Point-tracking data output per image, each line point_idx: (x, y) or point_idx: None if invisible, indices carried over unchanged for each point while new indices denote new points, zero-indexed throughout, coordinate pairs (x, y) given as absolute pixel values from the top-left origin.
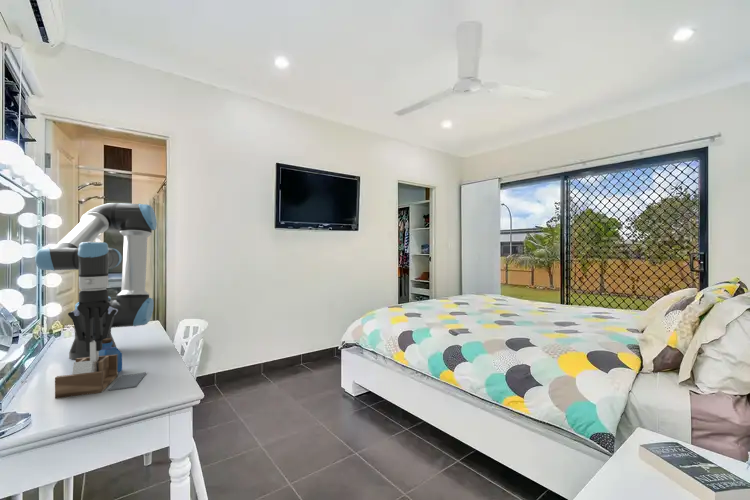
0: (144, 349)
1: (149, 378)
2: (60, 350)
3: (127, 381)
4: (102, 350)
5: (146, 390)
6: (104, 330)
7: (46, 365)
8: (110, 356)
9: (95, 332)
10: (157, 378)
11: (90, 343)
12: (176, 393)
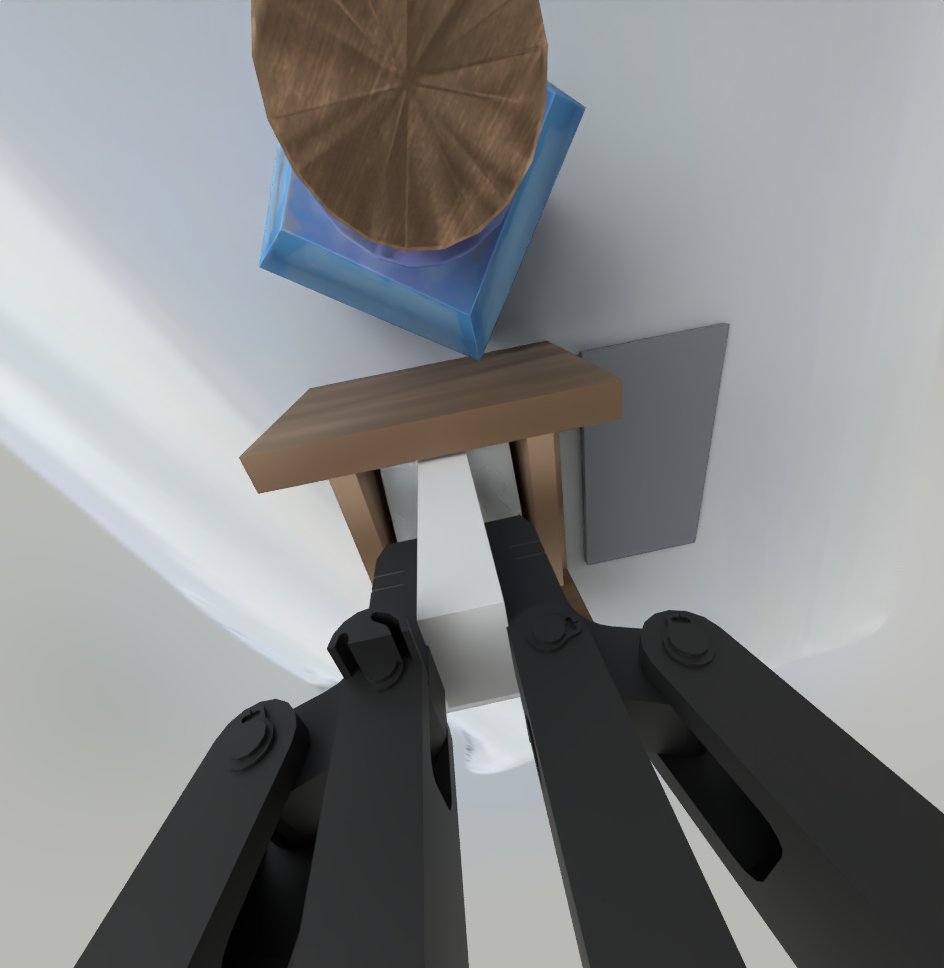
0: None
1: (744, 426)
2: None
3: (646, 479)
4: (417, 294)
5: (736, 573)
6: (774, 922)
7: None
8: (565, 425)
9: (571, 914)
10: (783, 435)
11: (456, 691)
12: (833, 606)
